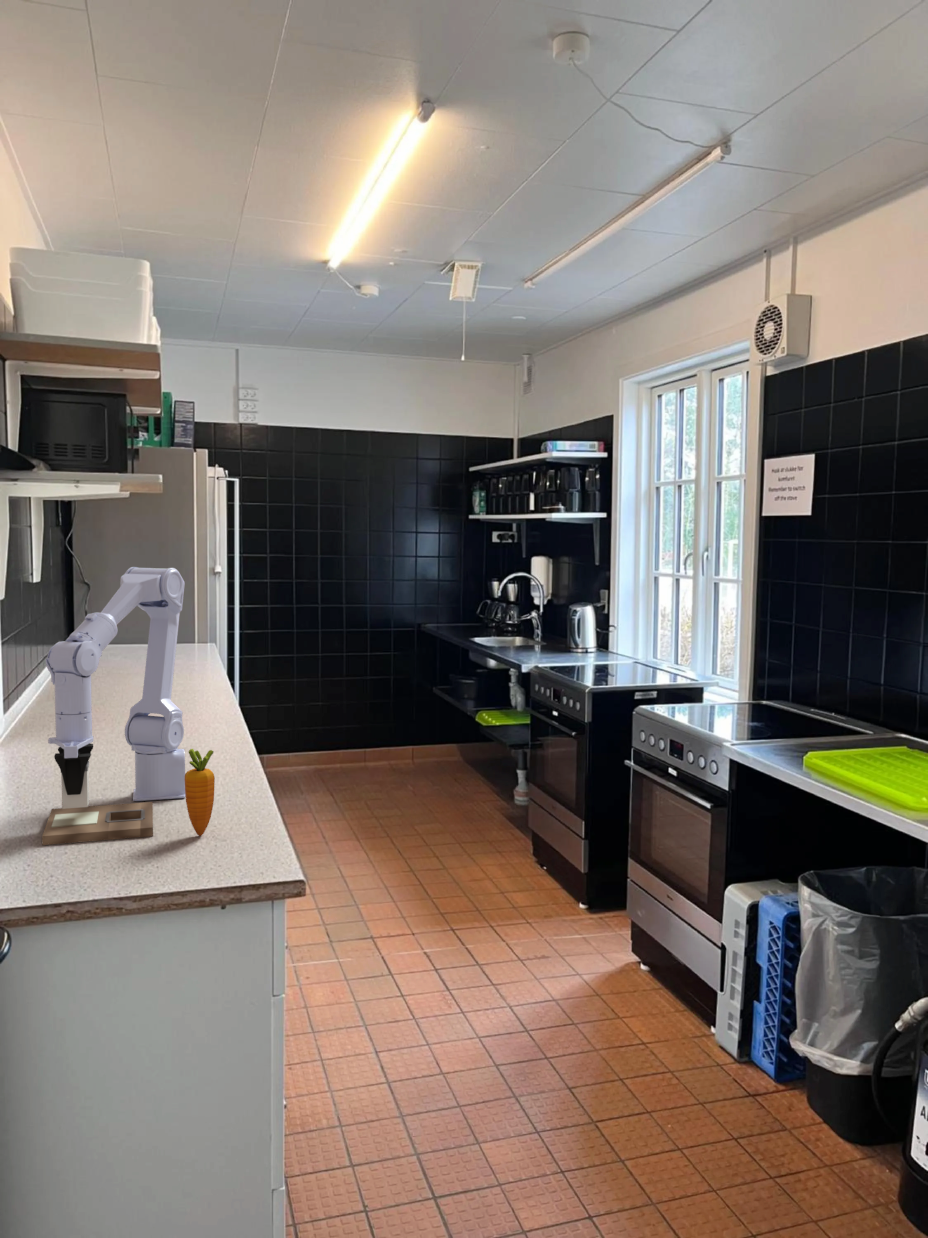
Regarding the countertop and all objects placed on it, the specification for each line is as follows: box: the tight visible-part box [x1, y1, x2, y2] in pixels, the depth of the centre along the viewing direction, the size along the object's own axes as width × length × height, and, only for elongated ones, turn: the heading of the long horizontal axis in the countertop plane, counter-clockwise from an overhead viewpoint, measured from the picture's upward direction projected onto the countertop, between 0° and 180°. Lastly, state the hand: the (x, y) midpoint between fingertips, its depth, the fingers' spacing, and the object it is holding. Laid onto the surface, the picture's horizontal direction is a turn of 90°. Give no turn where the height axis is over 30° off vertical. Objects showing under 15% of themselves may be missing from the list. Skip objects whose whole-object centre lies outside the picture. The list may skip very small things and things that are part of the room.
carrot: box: [185, 748, 216, 837], centre depth 157 cm, size 5×5×15 cm
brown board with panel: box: [41, 801, 154, 846], centre depth 162 cm, size 17×16×2 cm
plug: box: [60, 760, 90, 809], centre depth 160 cm, size 4×4×7 cm
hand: (75, 790), depth 160 cm, fingers closed on plug, 4 cm apart
